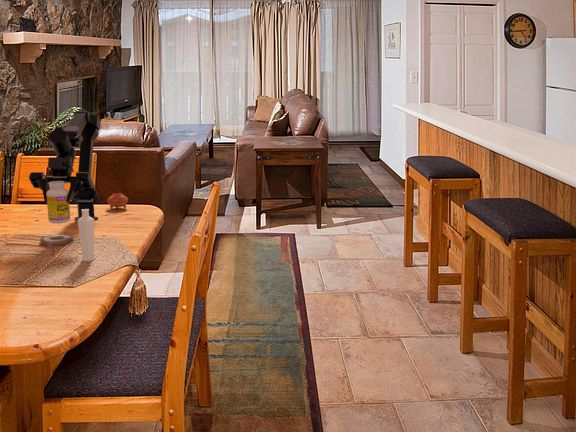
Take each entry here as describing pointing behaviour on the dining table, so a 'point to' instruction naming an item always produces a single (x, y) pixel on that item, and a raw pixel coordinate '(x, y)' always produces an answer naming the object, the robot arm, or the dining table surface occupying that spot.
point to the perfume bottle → (86, 235)
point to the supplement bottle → (58, 203)
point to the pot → (117, 200)
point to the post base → (56, 240)
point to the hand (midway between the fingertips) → (56, 202)
